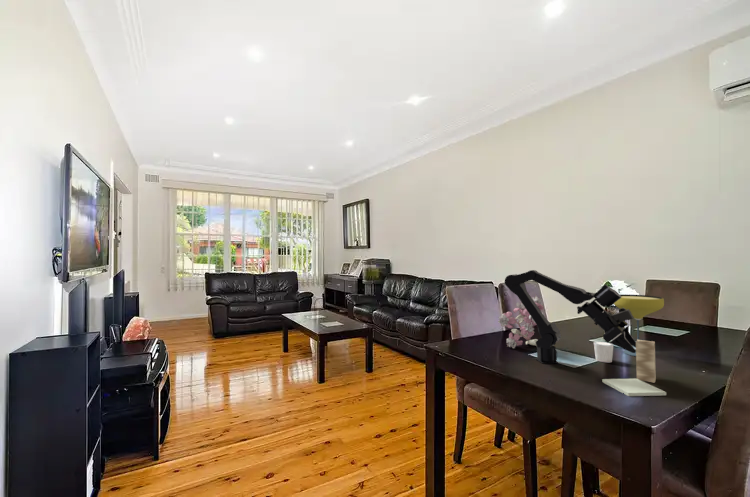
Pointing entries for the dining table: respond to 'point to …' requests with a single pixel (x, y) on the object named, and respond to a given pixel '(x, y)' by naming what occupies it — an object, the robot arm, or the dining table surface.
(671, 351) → the dining table surface
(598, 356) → the shot glass
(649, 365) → the birch block
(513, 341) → the flower
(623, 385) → the coaster board
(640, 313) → the cocktail glass
